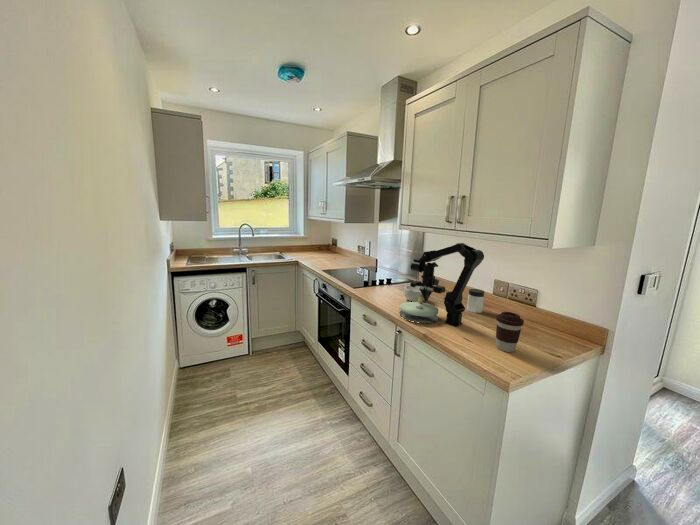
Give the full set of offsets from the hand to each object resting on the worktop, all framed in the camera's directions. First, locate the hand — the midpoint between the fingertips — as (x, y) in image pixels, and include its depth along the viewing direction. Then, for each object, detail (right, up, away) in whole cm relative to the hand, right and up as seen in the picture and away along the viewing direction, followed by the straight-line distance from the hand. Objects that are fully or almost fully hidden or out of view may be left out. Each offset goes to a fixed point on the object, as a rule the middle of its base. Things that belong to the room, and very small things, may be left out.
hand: (426, 301), depth 160 cm
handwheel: (-5, -3, -6) cm, 9 cm away
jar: (+30, -7, +9) cm, 32 cm away
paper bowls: (-1, -2, +24) cm, 24 cm away
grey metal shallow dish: (-6, -7, -5) cm, 10 cm away
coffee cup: (+23, -15, -38) cm, 47 cm away
